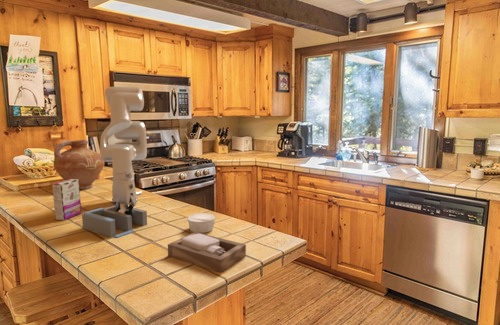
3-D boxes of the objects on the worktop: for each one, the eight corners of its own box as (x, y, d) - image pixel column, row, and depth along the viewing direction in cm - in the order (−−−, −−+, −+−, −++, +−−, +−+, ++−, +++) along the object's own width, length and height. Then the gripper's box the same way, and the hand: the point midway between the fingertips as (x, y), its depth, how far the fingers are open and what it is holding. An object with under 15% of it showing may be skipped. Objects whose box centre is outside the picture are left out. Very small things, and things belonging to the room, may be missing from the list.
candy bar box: (72, 212, 158) (70, 178, 156) (81, 213, 157) (79, 179, 155) (54, 220, 147) (51, 183, 145) (64, 220, 146) (61, 184, 144)
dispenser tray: (195, 242, 124) (195, 231, 123) (245, 255, 113) (245, 244, 112) (168, 255, 112) (167, 244, 112) (221, 272, 101) (221, 260, 100)
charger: (213, 263, 104) (180, 251, 113) (232, 256, 111) (200, 245, 120) (214, 249, 104) (181, 237, 112) (233, 242, 111) (201, 232, 120)
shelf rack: (119, 217, 152) (118, 203, 151) (151, 225, 141) (150, 210, 140) (82, 228, 137) (81, 213, 136) (115, 238, 126) (114, 222, 125)
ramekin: (189, 235, 131) (188, 222, 130) (186, 226, 142) (186, 214, 141) (217, 233, 134) (217, 220, 133) (212, 223, 145) (212, 212, 144)
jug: (113, 188, 209) (111, 140, 204) (64, 195, 189) (60, 142, 184) (95, 181, 228) (92, 137, 224) (48, 187, 208) (44, 139, 203)
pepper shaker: (126, 222, 145) (125, 200, 144) (131, 224, 143) (130, 202, 141) (118, 224, 142) (117, 202, 141) (123, 226, 140) (122, 204, 138)
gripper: (143, 176, 138) (145, 219, 141) (117, 172, 147) (119, 212, 150) (128, 179, 132) (130, 224, 135) (102, 175, 141) (104, 217, 143)
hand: (124, 217), depth 142 cm, fingers closed on pepper shaker, 4 cm apart
